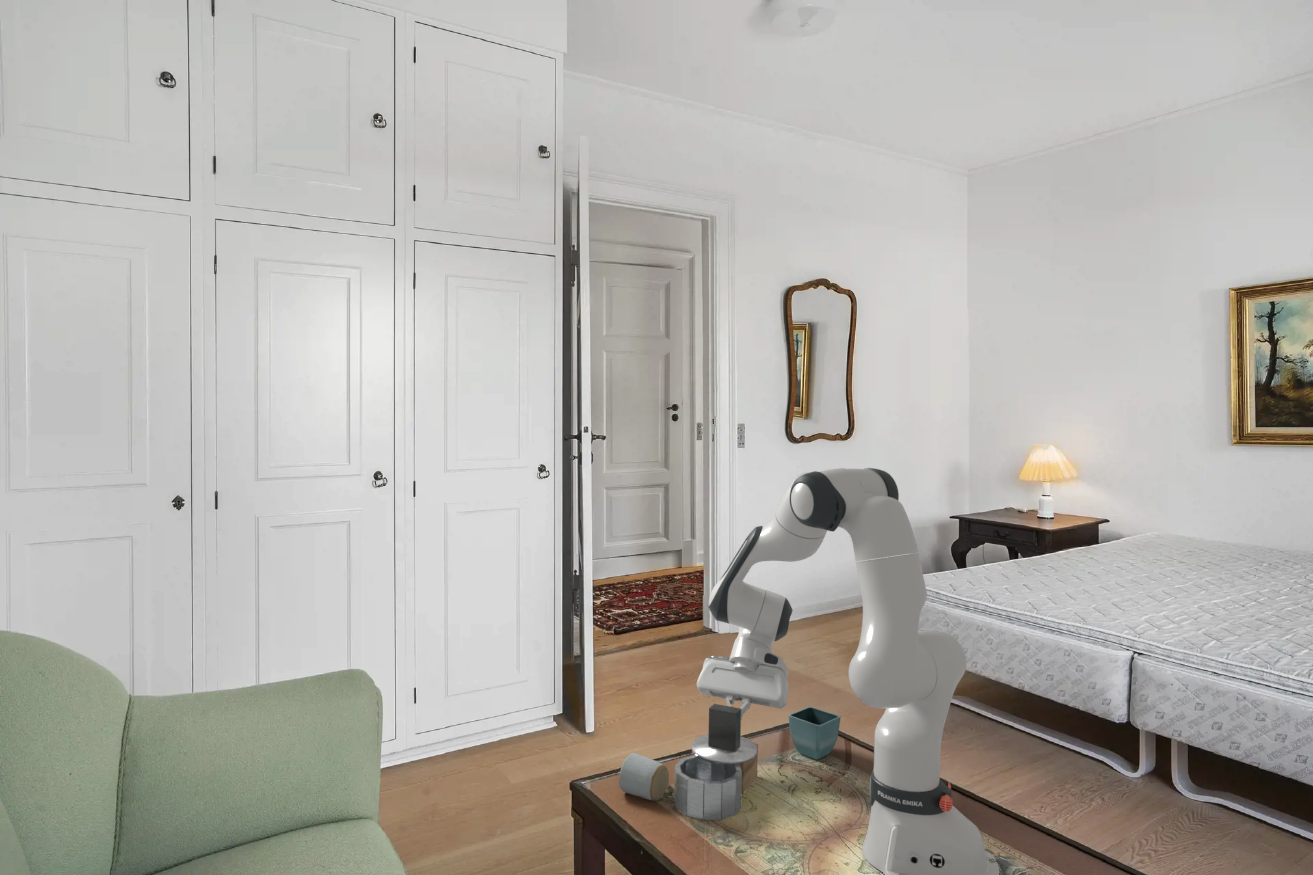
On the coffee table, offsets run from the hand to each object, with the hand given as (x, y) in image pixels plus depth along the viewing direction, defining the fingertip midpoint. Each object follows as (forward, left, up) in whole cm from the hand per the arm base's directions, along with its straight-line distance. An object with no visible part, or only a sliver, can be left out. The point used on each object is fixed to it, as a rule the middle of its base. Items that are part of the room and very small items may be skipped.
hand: (733, 718), depth 168 cm
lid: (0, +5, -5) cm, 7 cm away
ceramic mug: (+13, +16, -13) cm, 24 cm away
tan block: (0, +3, -12) cm, 13 cm away
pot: (0, +14, -12) cm, 19 cm away
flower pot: (-13, -19, -13) cm, 26 cm away
